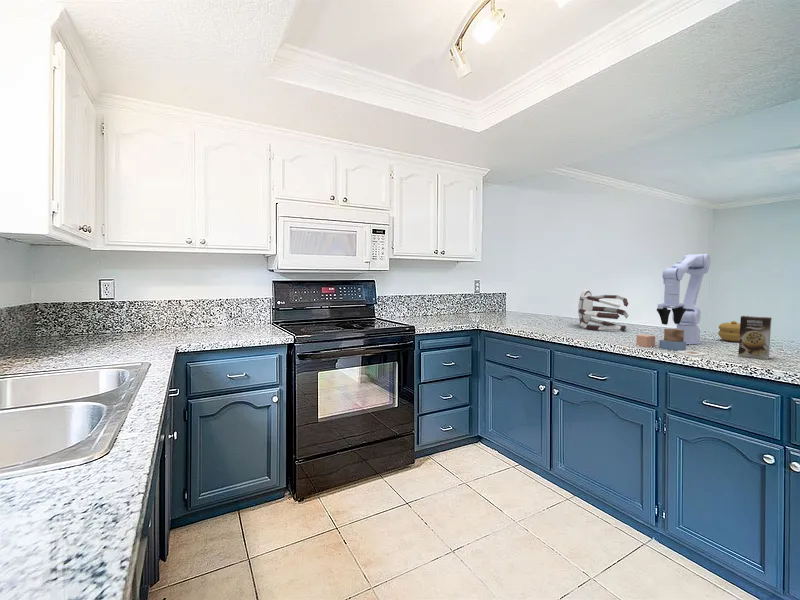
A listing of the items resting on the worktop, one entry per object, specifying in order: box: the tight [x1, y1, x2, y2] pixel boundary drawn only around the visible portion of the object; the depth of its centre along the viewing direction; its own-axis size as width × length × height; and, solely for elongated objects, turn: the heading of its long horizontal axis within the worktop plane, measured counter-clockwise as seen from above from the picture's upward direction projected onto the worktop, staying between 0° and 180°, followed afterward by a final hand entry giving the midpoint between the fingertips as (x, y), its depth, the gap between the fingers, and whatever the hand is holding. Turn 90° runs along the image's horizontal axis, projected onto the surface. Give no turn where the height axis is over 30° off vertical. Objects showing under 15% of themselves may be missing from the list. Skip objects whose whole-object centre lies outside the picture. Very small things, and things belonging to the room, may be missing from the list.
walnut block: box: [663, 328, 684, 342], centre depth 177 cm, size 5×5×5 cm
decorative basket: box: [577, 288, 629, 332], centre depth 245 cm, size 24×27×35 cm
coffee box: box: [737, 315, 773, 360], centre depth 159 cm, size 9×6×16 cm
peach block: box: [635, 334, 656, 348], centre depth 185 cm, size 5×5×5 cm
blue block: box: [658, 339, 687, 352], centre depth 177 cm, size 7×7×4 cm
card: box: [675, 350, 709, 357], centre depth 167 cm, size 8×8×1 cm
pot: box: [717, 320, 740, 343], centre depth 196 cm, size 12×12×10 cm
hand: (670, 324), depth 183 cm, fingers open, 7 cm apart
